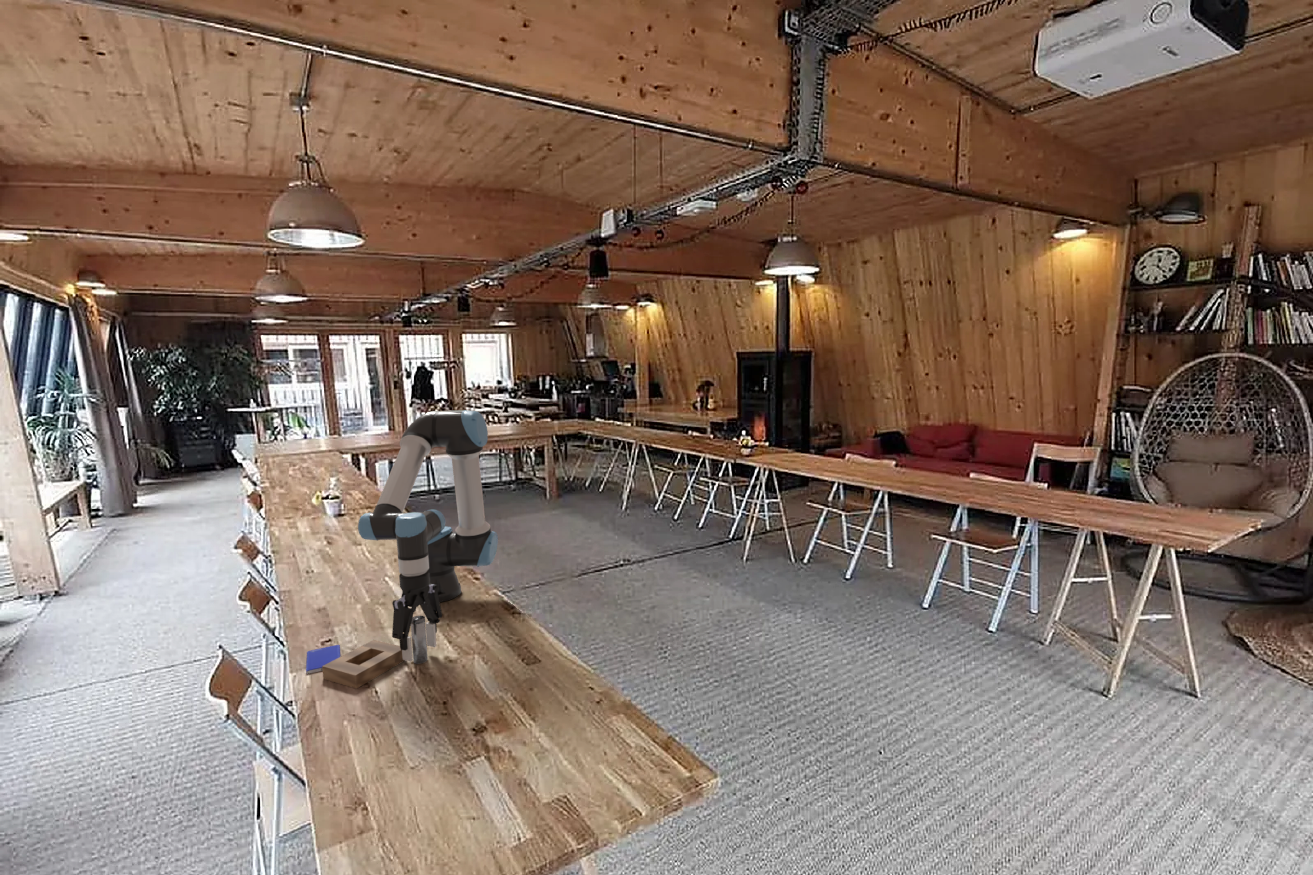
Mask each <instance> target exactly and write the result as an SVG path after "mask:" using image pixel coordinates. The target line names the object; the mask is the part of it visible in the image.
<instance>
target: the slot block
mask: <svg viewBox="0 0 1313 875" xmlns="http://www.w3.org/2000/svg"><path fill="white" fill-rule="evenodd" d="M404 661H405V662H406V660H403V656H402V650H401V649H400V645H397V644H393V643H389V642H385V641H380V640H377V639H372V640H371V641H369V642H367V643H365V644H363V645H361V646H359V647H357V648H355V649H353V650H350V651H349V652H347V653H345V654H343V655H342V656H341V657H339V658H337V659H335V660H333V661H331V662H329V663H327V664H325V665H323V666H322V679H323V680H326V681H328V682H332V683H336V684H339V685H343V686H346V687H350V688H354V689H359V688H360V687H361V686H364V685H365V684H367V683H369V682H370V681H372V680H374V679H376V678H377V677H379V676H381V675H382V674H385V673H386V672H388V671H389V670H391V669H393V668H394V667H396V666H398V665H400V664H402V663H403V662H404Z"/></svg>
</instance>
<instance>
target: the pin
mask: <svg viewBox="0 0 1313 875" xmlns="http://www.w3.org/2000/svg"><path fill="white" fill-rule="evenodd" d="M410 631H411V646H412V659H413V660H412V661H413V664H416V665H420V664H425V663H427V661H428V657H429V656H428V646H427V636H426V616H425V615H420V614H419V615H415V616H414V615H413V618H412V622H411V626H410Z"/></svg>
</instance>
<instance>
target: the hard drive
mask: <svg viewBox="0 0 1313 875" xmlns="http://www.w3.org/2000/svg"><path fill="white" fill-rule="evenodd" d="M339 657H341V645H340V644H336V645H329V646H324V647H320V648H316V649H315V648H314V649H312V650H308V651H306V663H305V664H306V665H305V675H308V673H309V674H313V673H317V672H321V671H322V672H323V670H322V666H323V665H325V664H327V663H329V662H331V661H333V660H335V659H337V658H339Z"/></svg>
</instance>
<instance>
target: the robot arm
mask: <svg viewBox="0 0 1313 875" xmlns="http://www.w3.org/2000/svg"><path fill="white" fill-rule="evenodd" d="M488 431H489V430H488V426H487V422H486V420H485V418H484V416H483V414H481V413H480V412H479V411H477V410H466V409H465V410H464V409H463V410H442V411H441V410H432V411H428V412H426V413H424V414H422V415H420V416H418V417H417V418H416V419H415V420H413V422H411V424H410V425H409V426H408V427H407V428H406V429H405V430H404V432H403V434H402V436H401V438H400V441H399V447H400V449H399V452H398V453H397V455H396V459H395V461H394V462H393V465H392V468H391V470H390V472H389V475H388V477H387V479H386V482H385V484H384V487H383V489H382V492H381V494H380V496H379V498H378V500H377V502H376V505H375V507H374V510H372V511H373V512H365V513H364V514H363V515H361V516H360V517H359V519H358V523H357V530H358V534H359V536H360V538H361V539H363V540H366V541H367V540H370V541H388V540H389V541H391V540H392V541H394V540H395V541H396V547H397V548H396V549H397V550H396V551H397V562H398V563H397V564H398V573H399V575H398V577H399V587H400V589H401V596H400V598H398V599H393V600H392V607H393V617H392V630H391V631H392V633H391V637H392V638H393V639H397V640H399V646H400V649H401V650H402V656H403V660H405V662H412V661H413V648H412V636H410V635H409V634H410V631H411V622H412V618H413V617H414V613H415V612H416V610H417V608H418V607H419V606H420V608H421V610H422V611H423V615H424V616H425V619H427V622H425V628H426V642H427V647H432V648H436V647H437V631H438V629H437V627H438V626H437V624H439V623H440V621H441V618H442V617H443V612H442V607H441V603H442V602H446V601H447V602H448V601H450V600H453V599H455V598H457V597H458V595H459V596H460V595H461V594H462V585H461V582H460V581H459V579H458V575H457V574H456V571H455V567H477V568H478V567H487V566H490V565H491V564H492V563H493V562H494V560H495V557H496V554H497V549H498V545H499V544H498V542H499V539H498V538H499V537H498V534H497V532H496V531H493V530H492V529H491V524H490V523H489V522H487V521H486V517H485V514H486V513H485V506H484V505H485V504H484V496H483V486H482V475H481V466H480V465H481V464H480V454H481V453H482V452H483V451H484V450H483V447H485V446H486V445H487V443H488V438H489V437H488V435H489V432H488ZM437 447H438V448H441V447H442V448H444V447H445V454H446V455H447V456H449V457H450V458H451V465H452V472H453V473H452V474H453V475H452V476H453V481H454V482H453V484H454V492H455V500H456V508H457V511H456V512H457V517H458V518H457V519H458V520H457V521H458V526H456V527H455V529H454V531H453V528H452V527H451V526H446V523H447V522H446V518H445V516H444V514H443V513H442V512H441V511H440V510H438V509H435V508H433V509H431V508H430V509H427V510H424V511H423V512H417V511H416V512H404V510H405V509H406V505H407V502H408V501H409V498H410V495H411V492H412V490H413V488H414V485H415V482H416V480H417V477H418V475H419V472H420V471H421V467H422V464H423V462H424V459H425V457H426V456H428V455H429V454H430V453H431V450H432V449H434V448H437Z"/></svg>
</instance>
